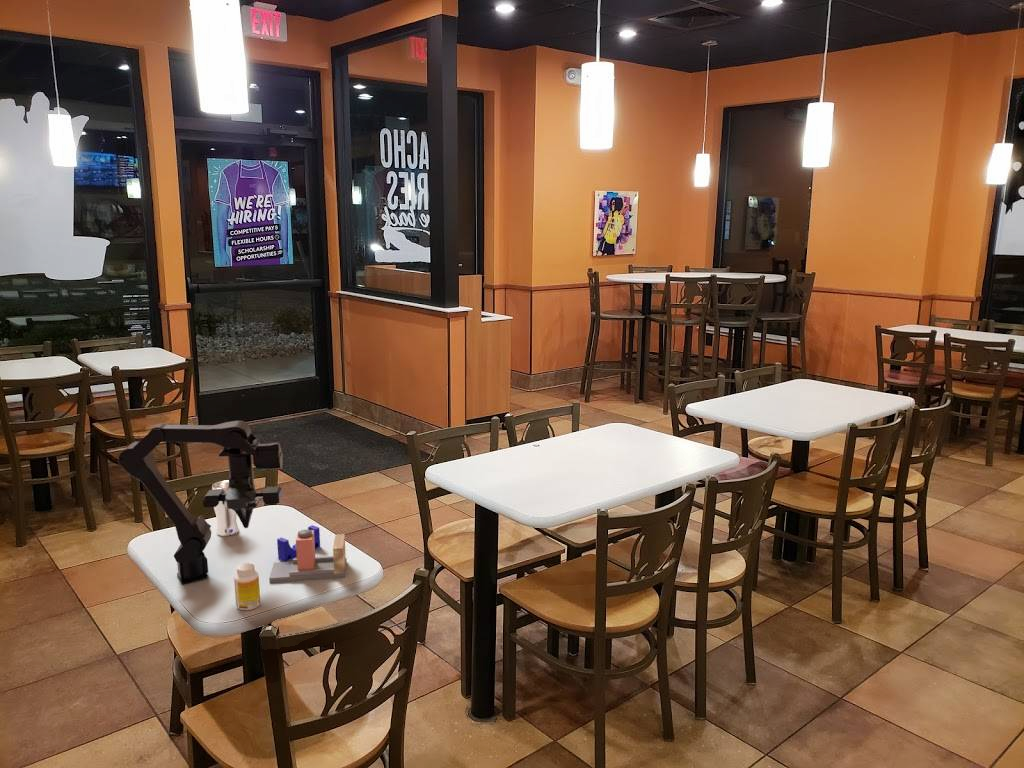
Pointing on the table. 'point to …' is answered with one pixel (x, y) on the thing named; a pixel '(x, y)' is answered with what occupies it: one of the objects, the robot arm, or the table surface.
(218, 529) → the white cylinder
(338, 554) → the socket block
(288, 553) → the blue curved piece
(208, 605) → the table surface
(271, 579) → the socket board
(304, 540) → the orange upright block
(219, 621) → the table surface
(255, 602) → the supplement bottle
